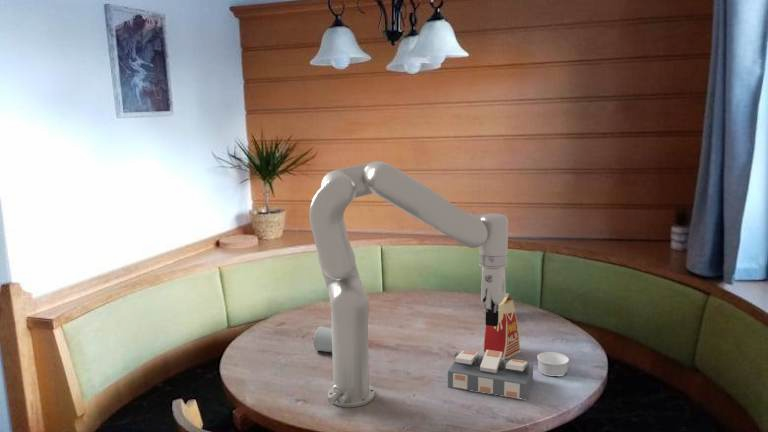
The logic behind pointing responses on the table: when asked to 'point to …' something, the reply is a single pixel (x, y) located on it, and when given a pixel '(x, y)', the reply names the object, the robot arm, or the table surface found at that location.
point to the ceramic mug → (323, 339)
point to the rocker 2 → (516, 364)
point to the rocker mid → (491, 361)
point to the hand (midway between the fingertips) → (491, 324)
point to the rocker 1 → (466, 357)
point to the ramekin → (552, 363)
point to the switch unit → (491, 378)
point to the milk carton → (503, 331)
